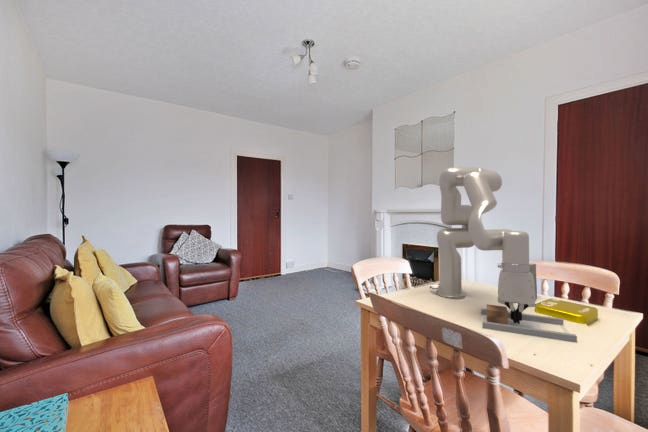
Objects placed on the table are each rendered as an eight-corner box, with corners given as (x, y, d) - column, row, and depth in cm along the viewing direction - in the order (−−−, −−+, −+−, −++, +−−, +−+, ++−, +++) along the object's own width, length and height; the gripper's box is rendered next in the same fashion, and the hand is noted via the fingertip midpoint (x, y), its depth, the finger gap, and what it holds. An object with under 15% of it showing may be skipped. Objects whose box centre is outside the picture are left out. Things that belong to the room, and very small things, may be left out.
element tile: (584, 329, 95) (584, 315, 95) (532, 315, 108) (532, 303, 108) (599, 319, 103) (599, 306, 103) (550, 308, 116) (549, 296, 115)
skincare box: (527, 301, 122) (527, 265, 122) (510, 297, 129) (510, 262, 128) (538, 298, 126) (538, 263, 126) (521, 294, 133) (520, 260, 132)
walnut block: (487, 324, 97) (487, 309, 97) (486, 318, 102) (486, 304, 102) (508, 327, 94) (507, 312, 94) (506, 320, 99) (506, 306, 99)
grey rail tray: (482, 331, 94) (482, 322, 94) (481, 316, 107) (481, 308, 107) (576, 346, 83) (576, 336, 83) (562, 327, 96) (562, 318, 96)
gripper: (490, 268, 95) (491, 322, 95) (546, 271, 89) (546, 330, 89) (489, 264, 102) (489, 315, 102) (540, 267, 95) (541, 321, 95)
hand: (516, 322), depth 95 cm, fingers closed
